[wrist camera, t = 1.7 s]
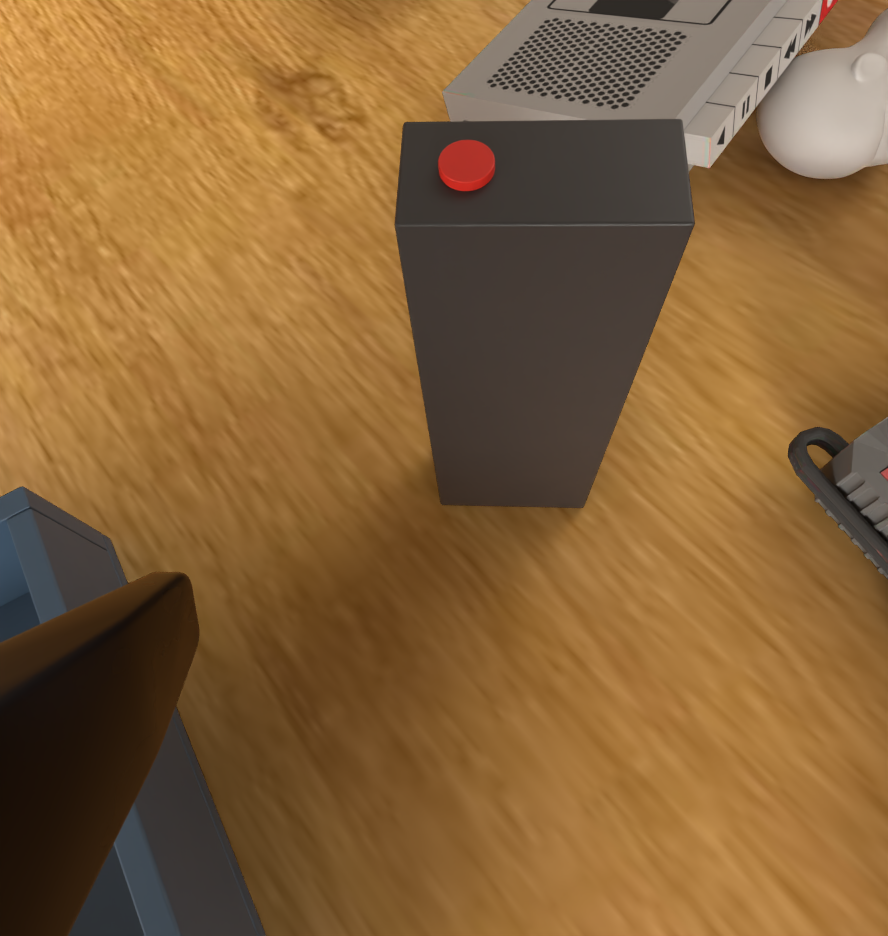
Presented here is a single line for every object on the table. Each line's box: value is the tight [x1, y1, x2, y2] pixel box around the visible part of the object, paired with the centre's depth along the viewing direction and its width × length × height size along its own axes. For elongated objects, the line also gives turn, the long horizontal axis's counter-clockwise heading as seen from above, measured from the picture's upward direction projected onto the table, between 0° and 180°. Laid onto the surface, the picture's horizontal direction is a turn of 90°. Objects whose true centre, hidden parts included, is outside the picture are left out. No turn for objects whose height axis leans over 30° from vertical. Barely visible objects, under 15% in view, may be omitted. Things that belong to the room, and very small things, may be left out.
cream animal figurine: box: [756, 8, 888, 179], centre depth 26 cm, size 4×8×5 cm
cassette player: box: [442, 0, 838, 171], centre depth 27 cm, size 16×3×10 cm
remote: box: [395, 119, 695, 508], centre depth 17 cm, size 2×5×13 cm, turn 88°
